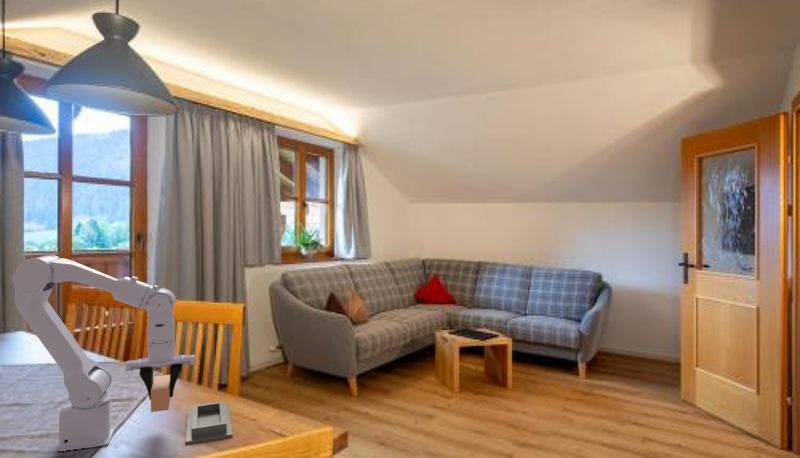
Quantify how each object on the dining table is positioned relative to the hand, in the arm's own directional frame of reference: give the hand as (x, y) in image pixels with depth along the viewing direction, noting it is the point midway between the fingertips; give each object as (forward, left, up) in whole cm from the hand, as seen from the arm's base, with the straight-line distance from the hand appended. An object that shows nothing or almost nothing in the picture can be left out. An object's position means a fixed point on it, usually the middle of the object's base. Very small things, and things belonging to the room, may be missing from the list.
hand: (161, 396), depth 113 cm
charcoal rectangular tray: (+11, 0, -8) cm, 13 cm away
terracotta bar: (0, 0, -1) cm, 1 cm away
